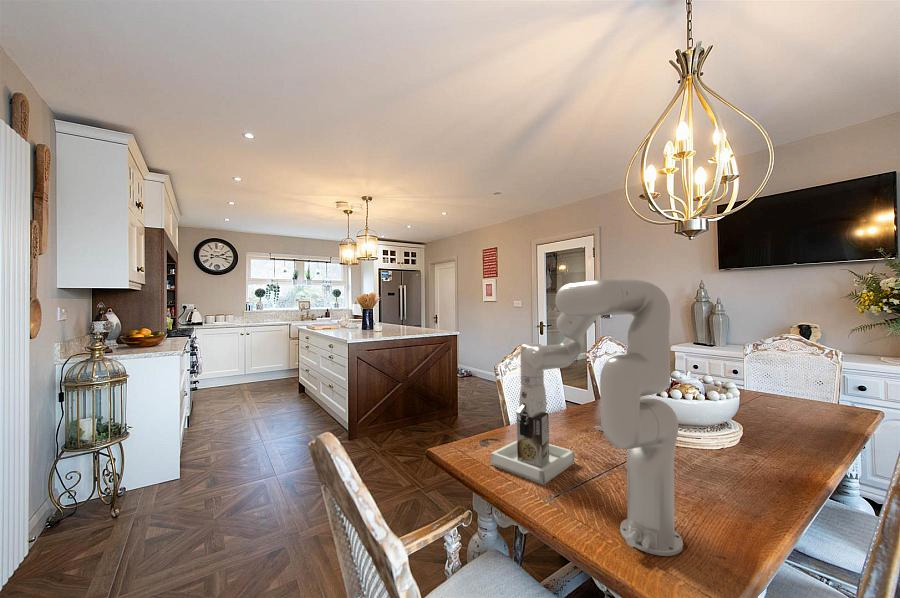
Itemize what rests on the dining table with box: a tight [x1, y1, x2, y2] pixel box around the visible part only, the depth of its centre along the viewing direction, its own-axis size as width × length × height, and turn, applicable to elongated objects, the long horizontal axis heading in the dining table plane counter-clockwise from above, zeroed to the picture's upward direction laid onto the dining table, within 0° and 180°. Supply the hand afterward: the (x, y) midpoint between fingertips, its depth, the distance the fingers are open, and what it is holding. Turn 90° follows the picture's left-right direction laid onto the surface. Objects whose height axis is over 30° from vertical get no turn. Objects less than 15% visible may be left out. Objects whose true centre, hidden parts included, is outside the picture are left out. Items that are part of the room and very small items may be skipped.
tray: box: [490, 440, 575, 486], centre depth 123 cm, size 20×19×4 cm
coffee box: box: [516, 412, 550, 468], centre depth 122 cm, size 9×6×16 cm
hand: (532, 431), depth 123 cm, fingers open, 9 cm apart
